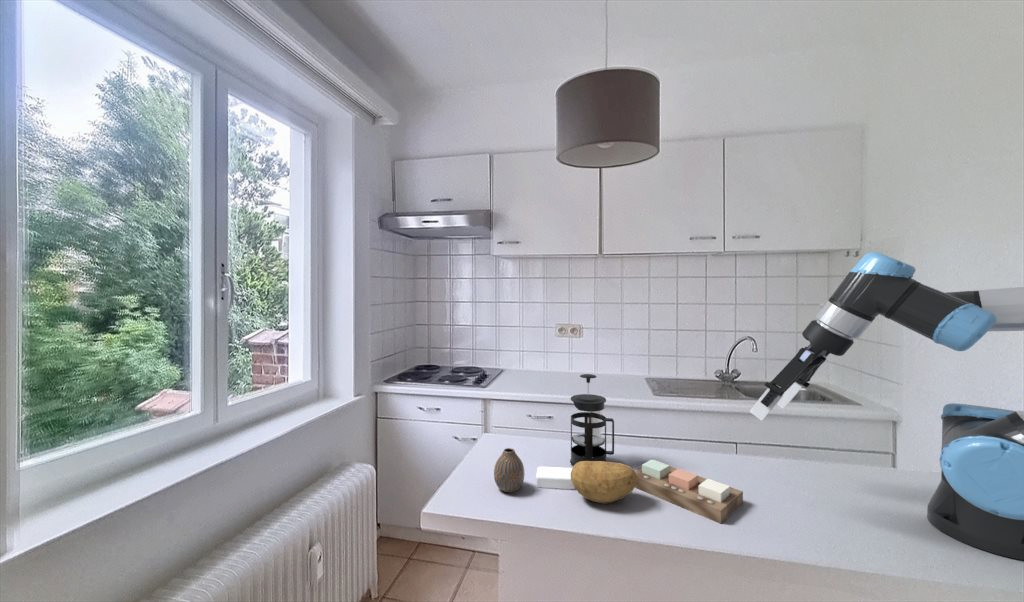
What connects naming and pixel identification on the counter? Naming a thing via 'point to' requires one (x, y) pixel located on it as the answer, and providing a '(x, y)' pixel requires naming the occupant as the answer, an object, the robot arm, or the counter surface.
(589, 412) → the french press
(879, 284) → the robot arm
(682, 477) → the terracotta button
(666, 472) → the sage button
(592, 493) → the potato
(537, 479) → the soap
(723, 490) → the cream button
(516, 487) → the vase
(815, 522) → the counter surface
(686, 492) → the console
